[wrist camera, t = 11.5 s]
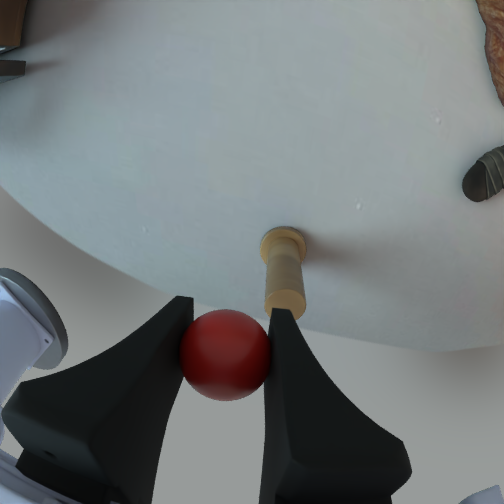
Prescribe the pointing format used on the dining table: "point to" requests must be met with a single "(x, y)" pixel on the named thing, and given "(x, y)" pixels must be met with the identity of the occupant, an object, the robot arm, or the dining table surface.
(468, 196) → the knife
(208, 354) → the ball
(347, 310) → the dining table surface
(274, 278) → the flanged wooden peg
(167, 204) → the dining table surface
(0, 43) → the drawer
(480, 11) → the pastry
